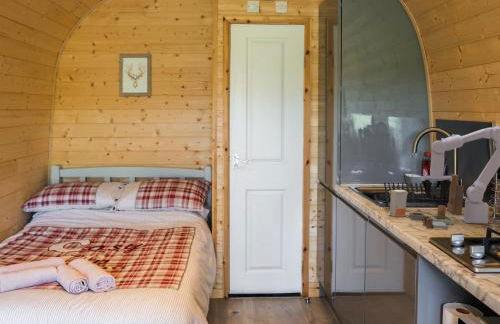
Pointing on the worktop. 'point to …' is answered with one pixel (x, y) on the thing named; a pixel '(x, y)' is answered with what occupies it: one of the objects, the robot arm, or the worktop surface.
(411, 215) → the socket
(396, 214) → the skincare box
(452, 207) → the wooden block
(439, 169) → the robot arm
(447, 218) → the tray
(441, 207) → the dowel
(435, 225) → the grey square tile
